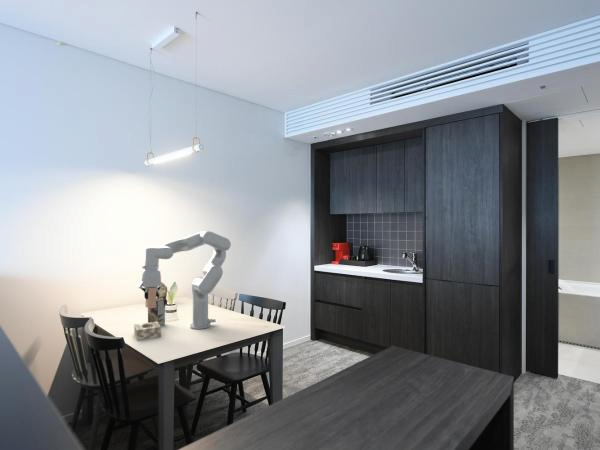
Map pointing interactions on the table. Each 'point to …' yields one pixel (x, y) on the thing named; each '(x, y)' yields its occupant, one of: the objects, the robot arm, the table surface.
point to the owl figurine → (162, 293)
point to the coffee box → (157, 312)
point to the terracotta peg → (151, 298)
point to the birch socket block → (147, 330)
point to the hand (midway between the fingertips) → (150, 298)
